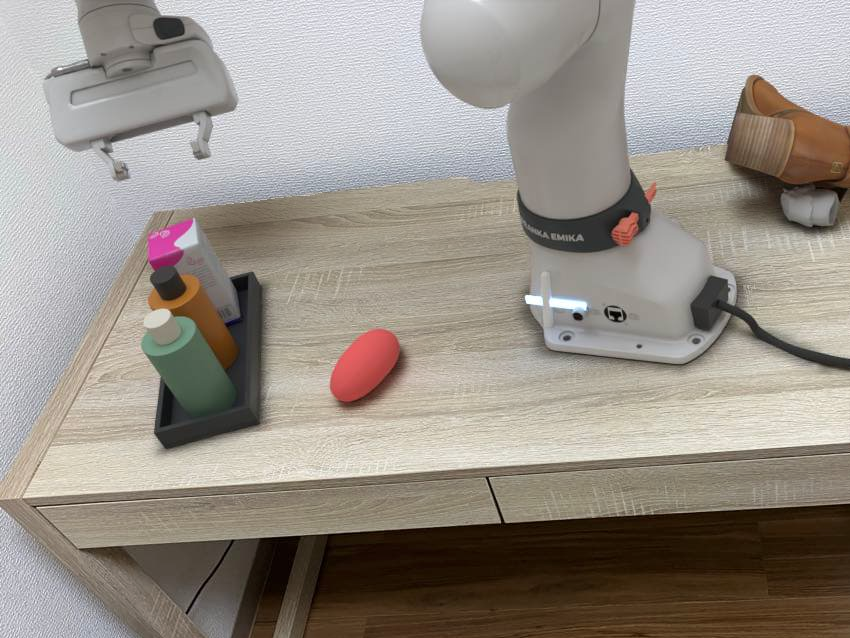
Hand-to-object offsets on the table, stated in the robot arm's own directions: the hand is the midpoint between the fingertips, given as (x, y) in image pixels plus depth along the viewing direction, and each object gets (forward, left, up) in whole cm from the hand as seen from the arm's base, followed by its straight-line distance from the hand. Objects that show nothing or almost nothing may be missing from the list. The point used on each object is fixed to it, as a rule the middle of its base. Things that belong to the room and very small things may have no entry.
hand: (162, 168), depth 103 cm
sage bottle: (-15, +18, -15) cm, 28 cm away
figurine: (-65, -33, -14) cm, 74 cm away
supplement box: (-6, +6, -15) cm, 18 cm away
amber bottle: (-11, +12, -15) cm, 22 cm away
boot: (-53, -37, -10) cm, 65 cm away
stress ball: (-31, +9, -16) cm, 37 cm away
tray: (-11, +12, -16) cm, 23 cm away
